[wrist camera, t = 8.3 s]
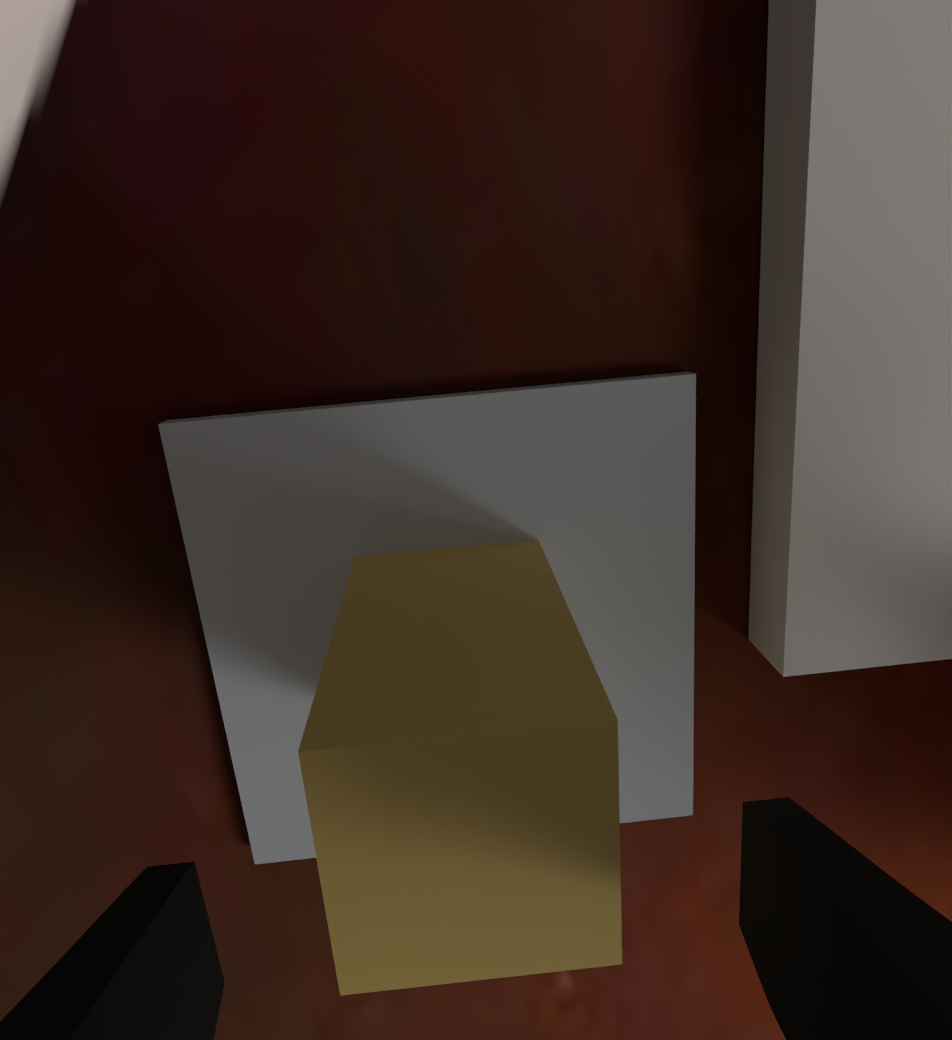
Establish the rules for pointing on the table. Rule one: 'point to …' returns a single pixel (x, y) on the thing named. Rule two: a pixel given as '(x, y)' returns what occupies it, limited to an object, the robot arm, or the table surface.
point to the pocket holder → (854, 339)
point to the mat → (439, 525)
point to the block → (462, 775)
